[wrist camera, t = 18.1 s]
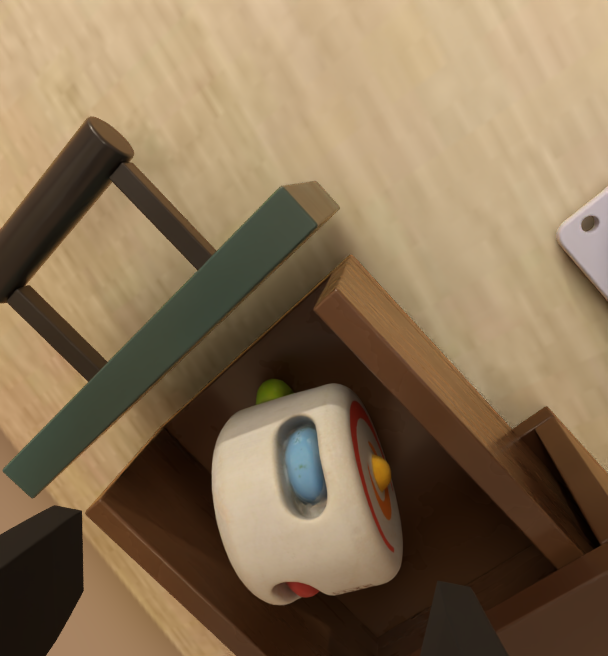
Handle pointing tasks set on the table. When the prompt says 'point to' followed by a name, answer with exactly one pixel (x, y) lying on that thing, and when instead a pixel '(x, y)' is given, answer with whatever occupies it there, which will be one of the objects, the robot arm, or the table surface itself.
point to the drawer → (299, 374)
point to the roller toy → (305, 495)
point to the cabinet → (571, 580)
